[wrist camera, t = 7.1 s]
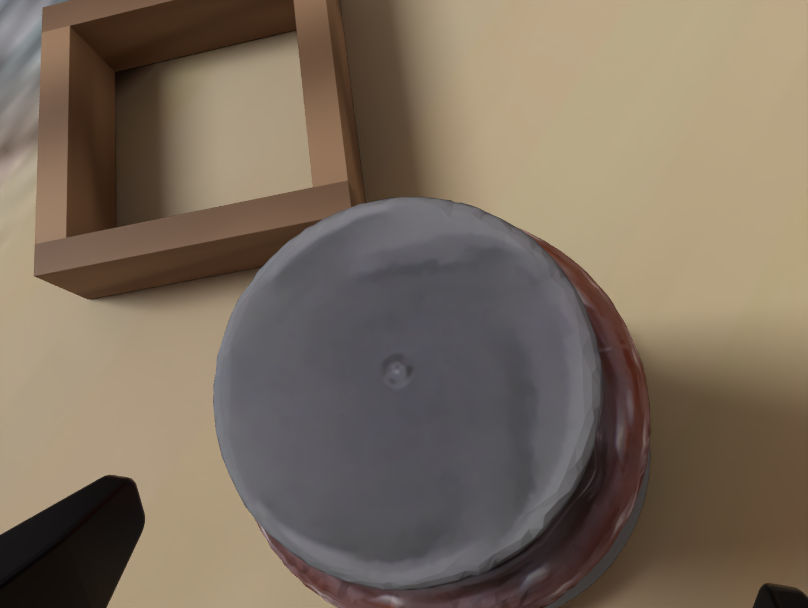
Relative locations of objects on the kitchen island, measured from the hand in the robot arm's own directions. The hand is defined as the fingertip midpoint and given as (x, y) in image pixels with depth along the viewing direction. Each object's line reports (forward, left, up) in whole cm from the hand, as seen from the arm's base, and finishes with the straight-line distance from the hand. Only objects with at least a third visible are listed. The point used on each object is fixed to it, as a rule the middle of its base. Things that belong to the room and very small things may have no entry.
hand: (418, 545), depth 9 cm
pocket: (+14, -1, -9) cm, 17 cm away
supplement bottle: (+1, -1, -8) cm, 8 cm away
